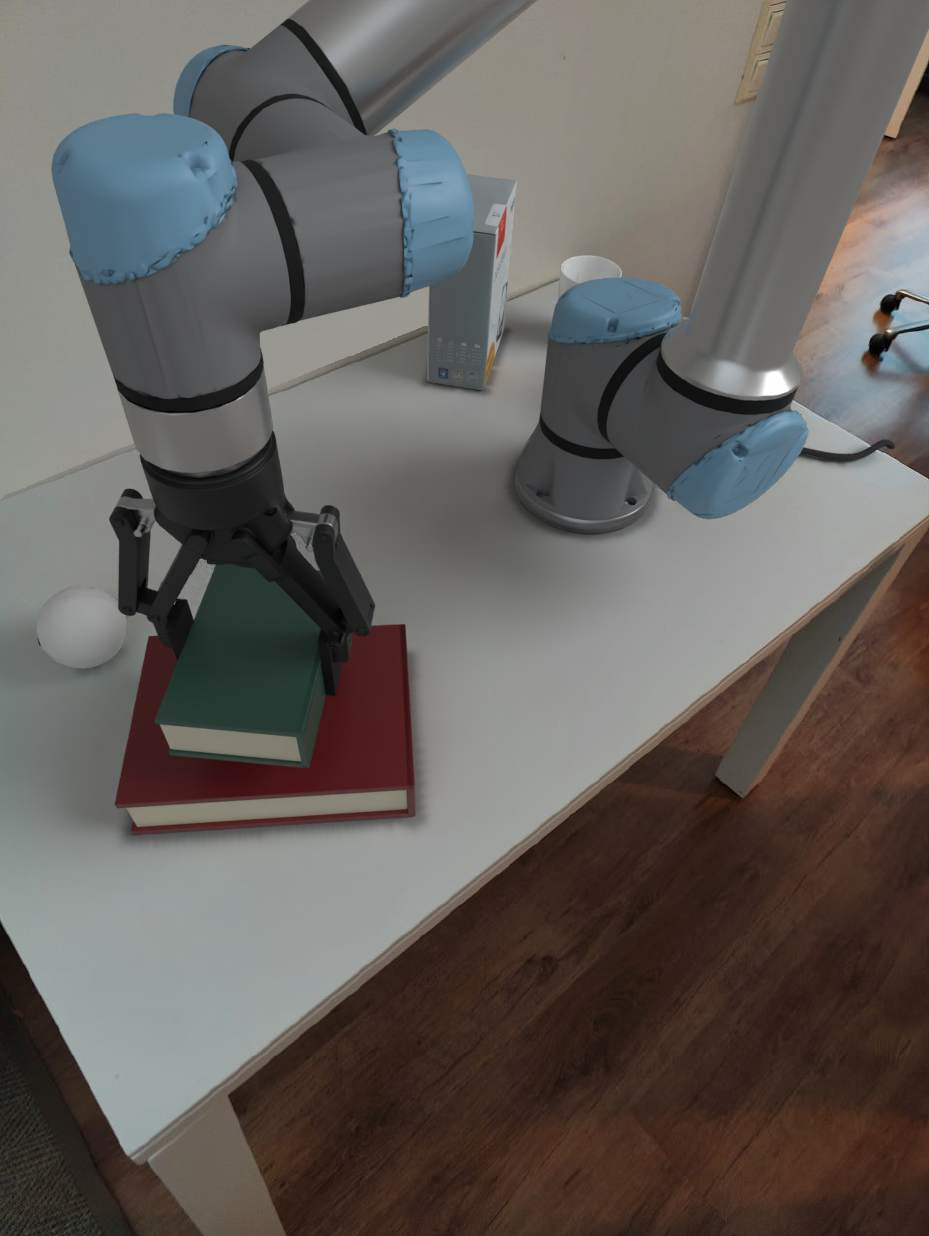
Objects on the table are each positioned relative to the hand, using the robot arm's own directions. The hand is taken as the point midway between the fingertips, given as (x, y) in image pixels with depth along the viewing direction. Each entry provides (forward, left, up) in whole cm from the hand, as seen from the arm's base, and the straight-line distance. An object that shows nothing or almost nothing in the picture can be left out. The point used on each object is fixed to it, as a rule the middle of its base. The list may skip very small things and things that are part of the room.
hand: (264, 674), depth 63 cm
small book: (0, 0, 0) cm, 0 cm away
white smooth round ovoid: (+20, -8, -9) cm, 24 cm away
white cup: (-26, -67, -9) cm, 73 cm away
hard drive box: (-11, -61, -9) cm, 63 cm away
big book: (0, 0, -9) cm, 9 cm away
